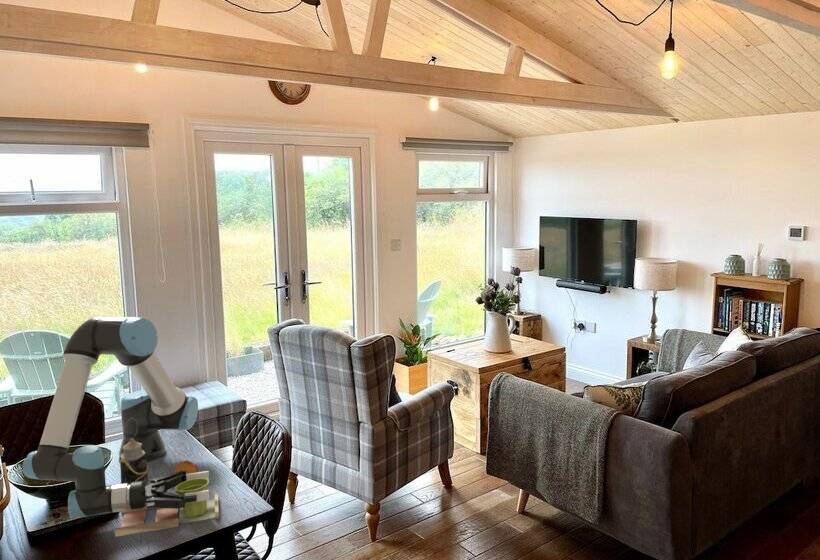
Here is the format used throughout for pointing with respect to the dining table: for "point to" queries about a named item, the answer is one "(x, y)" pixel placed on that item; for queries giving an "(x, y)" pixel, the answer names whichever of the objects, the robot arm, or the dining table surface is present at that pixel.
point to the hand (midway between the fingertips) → (209, 484)
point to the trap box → (162, 518)
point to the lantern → (133, 462)
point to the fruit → (186, 467)
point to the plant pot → (193, 486)
